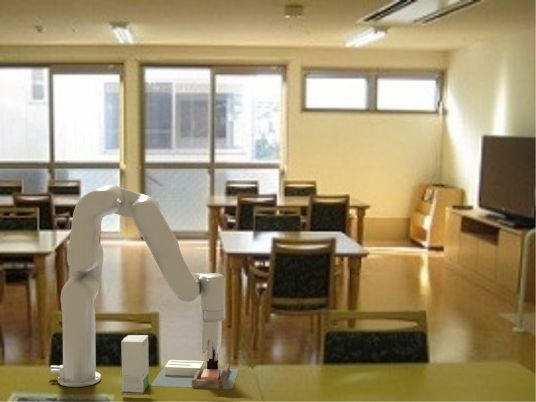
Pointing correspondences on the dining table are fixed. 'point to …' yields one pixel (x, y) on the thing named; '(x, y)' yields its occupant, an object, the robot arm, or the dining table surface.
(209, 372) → the pink block
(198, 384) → the tray
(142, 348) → the skincare box
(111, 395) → the dining table surface
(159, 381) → the mat
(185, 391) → the dining table surface
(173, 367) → the flat white box
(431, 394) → the dining table surface
